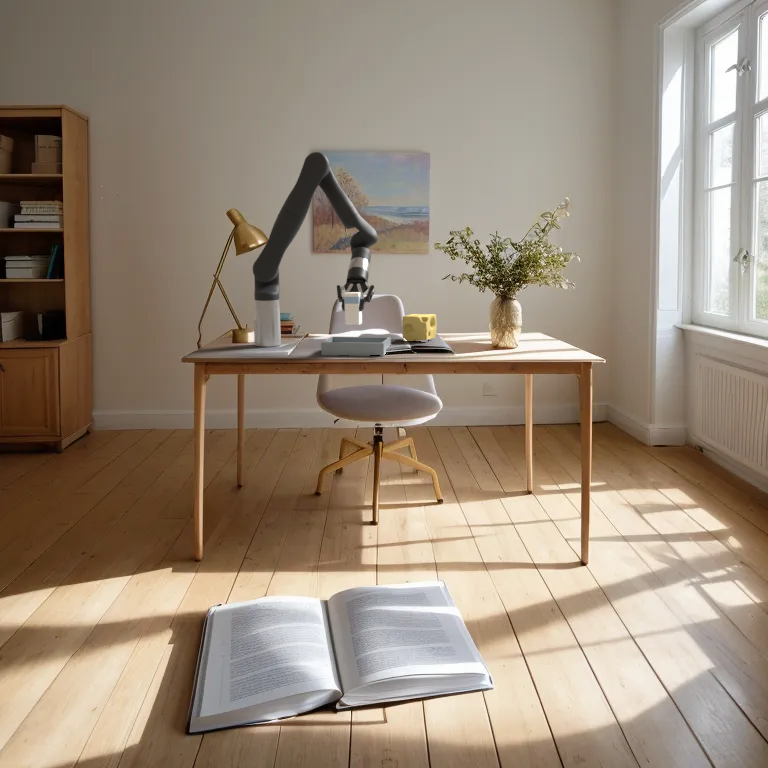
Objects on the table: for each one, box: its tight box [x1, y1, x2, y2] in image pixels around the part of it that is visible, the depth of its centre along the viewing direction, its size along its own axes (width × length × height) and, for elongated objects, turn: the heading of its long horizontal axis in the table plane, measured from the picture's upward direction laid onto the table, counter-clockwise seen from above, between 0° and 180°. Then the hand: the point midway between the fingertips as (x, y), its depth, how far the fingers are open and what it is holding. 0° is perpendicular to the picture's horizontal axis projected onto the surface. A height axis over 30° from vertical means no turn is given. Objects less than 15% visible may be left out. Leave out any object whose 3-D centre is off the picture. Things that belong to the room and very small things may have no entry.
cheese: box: [401, 313, 438, 342], centre depth 317 cm, size 10×11×10 cm
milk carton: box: [343, 291, 363, 326], centre depth 288 cm, size 5×5×11 cm
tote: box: [320, 336, 392, 357], centre depth 290 cm, size 22×15×4 cm
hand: (352, 309), depth 286 cm, fingers closed on milk carton, 5 cm apart
